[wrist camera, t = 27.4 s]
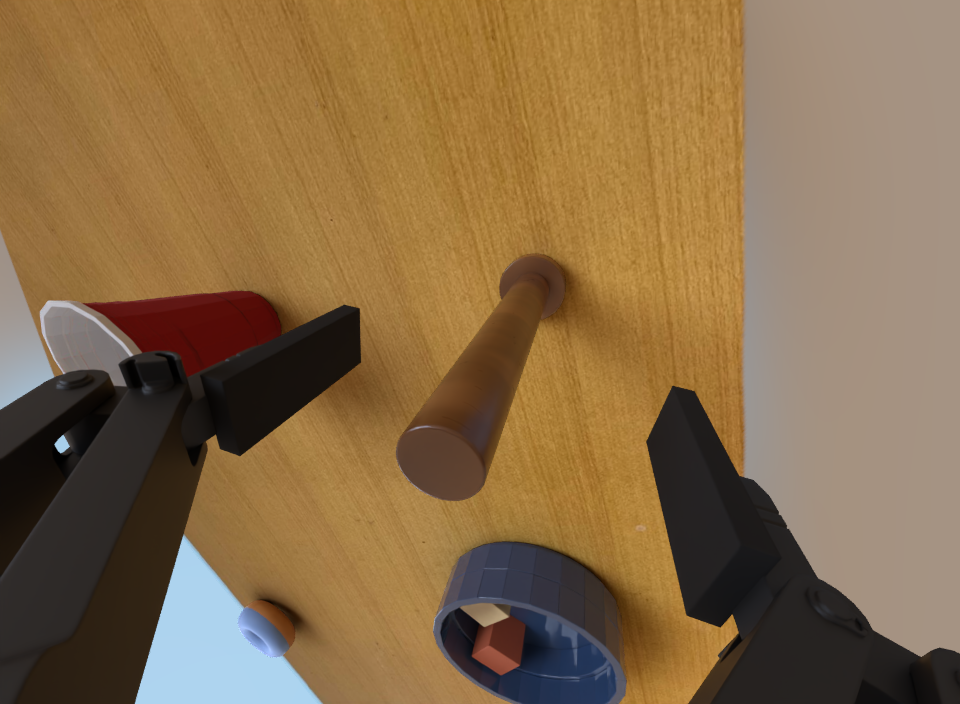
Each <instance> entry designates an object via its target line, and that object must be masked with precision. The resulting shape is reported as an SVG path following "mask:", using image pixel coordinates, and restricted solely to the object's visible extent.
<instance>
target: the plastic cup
mask: <svg viewBox="0 0 960 704" xmlns="http://www.w3.org/2000/svg"><path fill="white" fill-rule="evenodd" d="M40 318H41V327H42V334H43V336H44V338H45V340H46V343H47V345H48V347H49V349H50V352H51V354H52V356H53V358H54V360H55V361H56V363H57V364H58V366H59V367H60V369H61V370H62V372H63V373H64V374H66V373H67V372H71V371H76V370H91V369H96V370H103V371H105V372H107V373H109V376H110V378H111V380H112V383H113V385H114V386H126V383H125V380H124V378H123V375H122V373H121V370H120V368H119V365H118V364H119V363H120V362H121V361H123V360H124V359H126V358H129V357H131V356H133V355H137V354H140V353H144V352H151V351H172V352H176V353H178V354H179V355H180V356H181V359H182V362H183V366H184V369H185V373H186V376H187V377H189V376H191V375H193V374H195V373H197V372H200V371H202V370H204V369H206V368H208V367H210V366H212V365H214V364H216V363H218V362H221V361H225V360H226V359H227V358H229V357H231V356H233V355H235V356H236V354H237V353H239V352H242V351H244V350H246V349H248V348H250V347H254V346H258V345H262V344H264V343H266V342H268V341H271V340H273V339H275V338H277V337H279V336H281V325H280V322H279V319H278V316H277V314H276V313H275V311H274V310H273V308H272V307H271V305H270V304H269V303H268V302H267V301H266V300H264V299H263V298H262V297H261V296H260V295H257V294H255V293H253V292H250V291H228V292H220V293H211V294H192V295H183V296H174V297H165V298H155V299H146V300H137V301H128V302H122V301H116V302H107V303H97V302H95V303H80V302H78V301H60V300H58V301H48V302H47V303H46V304H45V306H44V307H43V309H42V310H41V311H40Z"/></svg>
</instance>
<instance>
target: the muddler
mask: <svg viewBox="0 0 960 704" xmlns="http://www.w3.org/2000/svg"><path fill="white" fill-rule="evenodd" d="M499 290H500V296H501V302H500V303H499V304H498V306H497V307H496V308H495V310H494V311H493V312H492V314H491V315H490V316H489V318H488V319H487V320H486V322H485V323H484V325H483V326H482V327H481V329H480V330H479V331H478V333H477V334H476V335H475V337H474V338H473V339H472V341H471V342H470V343H469V345H468V346H467V347H466V349H465V350H464V352H463V353H462V354H461V356H460V357H459V358H458V360H457V361H456V362H455V364H454V365H453V366H452V368H451V369H450V370H449V372H448V373H447V374H446V376H445V377H444V378H443V380H442V381H441V383H440V384H439V385H438V387H437V388H436V389H435V391H434V392H433V393H432V395H431V396H430V397H429V399H428V400H427V401H426V403H425V404H424V405H423V407H422V408H421V410H420V411H419V412H418V414H417V415H416V416H415V418H414V419H413V420H412V422H411V423H410V424H409V426H408V427H407V428H406V430H405V431H404V432H403V434H402V435H401V436H400V438H399V440H398V443H397V447H396V458H397V462H398V465H399V467H400V469H401V471H402V473H403V474H404V476H405V477H406V478H407V479H408V480H409V481H410V483H411V484H413V485H414V486H415V487H416V488H418V489H419V490H420V491H422V492H424V493H425V494H428V495H430V496H432V497H435V498H438V499H441V500H447V501H460V500H465V499H468V498H470V497H472V496H474V495H475V494H476V493H478V492H479V491H480V490H481V488H482V487H483V485H484V483H485V481H486V478H487V475H488V472H489V469H490V466H491V463H492V460H493V457H494V454H495V452H496V449H497V446H498V443H499V440H500V437H501V434H502V431H503V428H504V425H505V422H506V419H507V416H508V413H509V410H510V407H511V405H512V402H513V399H514V396H515V393H516V390H517V387H518V384H519V381H520V378H521V375H522V372H523V369H524V366H525V363H526V360H527V358H528V355H529V352H530V349H531V346H532V343H533V340H534V337H535V334H536V331H537V328H538V325H539V322H540V320H542V319H545V318H547V317H549V316H551V315H552V314H553V313H554V312H556V311H557V309H558V308H559V307H560V305H561V304H562V302H563V299H564V295H565V290H566V279H565V275H564V273H563V271H562V269H561V267H560V266H559V265H558V264H557V263H556V262H555V261H554V260H553V259H551V258H550V257H548V256H545V255H542V254H527V255H523V256H521V257H519V258H517V259H516V260H514V261H513V262H512V263H511V264H510V265H509V266H508V267H507V268H506V270H505V271H504V273H503V275H502V277H501V280H500V287H499Z"/></svg>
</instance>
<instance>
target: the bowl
mask: <svg viewBox="0 0 960 704" xmlns="http://www.w3.org/2000/svg"><path fill="white" fill-rule="evenodd" d="M478 603H492V604H506V605H510V606H511V610H510V615H512V616H513V617H515V618H516V619H518V620H519V621H521V622H522V623H524V624H525V633H524V640H523V647H522V655H521V662H520V666H518V667H516V668H514V669H513V670H511V671H509V672H507V673H505V674H503V675H499V674H498V673H496V672H495V671H493V670H492V669H490V668H489V667H487V666H485V665H484V664H482V663H481V662H479V661H478V660H476V659H475V658H473V657H472V652H473V648H474V644H475V639H476V635H477V631H478V627H479V623H478V622H477V621H476V620H475V619H473V618H472V617H471V616H470V615H468V614H467V613H466V612H465V611H463V610H462V609H461V608H460V607H462V606H466V605H472V604H478ZM433 633H434V636H435V640H436V643H437V645H438V647H439V648H440V650H441V652H442V653H443V655H444V656H445V658H446V659H447V660H448V661H449V662H450V663H451V664H452V665H453V666H454V667H455V668H456V669H457V670H458V671H459V672H460V673H461V674H462V675H464V676H465V677H466V678H468V679H469V680H470V681H472V682H473V683H474V684H476V685H477V686H479V687H480V688H482V689H484V690H486V691H487V692H489V693H491V694H493V695H494V696H496V697H499V698H501V699H503V700H506V701H508V702H510V703H512V704H619V703H620V701H621V700H622V699H623V697H624V696H625V693H626V683H627V678H626V666H625V654H624V642H623V630H622V618H621V614H620V611H619V608H618V605H617V603H616V600H615V599H614V597H613V596H612V595H611V593H610V592H609V591H608V590H607V588H606V587H605V586H604V584H602V582H601V581H600V580H599V579H598V578H597V577H596V576H595V575H594V574H592V573H591V572H590V571H589V570H588V569H586V568H585V567H583V566H582V565H581V564H579V563H577V562H576V561H574V560H572V559H570V558H568V557H566V556H564V555H562V554H560V553H558V552H555V551H553V550H550V549H547V548H544V547H540V546H536V545H532V544H527V543H519V542H495V543H490V544H485V545H482V546H479V547H477V548H474V549H472V550H471V551H469V552H467V553H466V554H464V555H463V556H461V557H460V558H459V559H458V561H457V562H456V563H455V565H454V566H453V568H452V571H451V573H450V576H449V579H448V582H447V585H446V588H445V591H444V594H443V596H442V599H441V602H440V605H439V608H438V611H437V614H436V616H435V620H434V627H433Z"/></svg>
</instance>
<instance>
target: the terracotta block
mask: <svg viewBox="0 0 960 704" xmlns="http://www.w3.org/2000/svg"><path fill="white" fill-rule="evenodd" d="M524 633H525V624H524V623H522V622H521V621H519V620H518V619H516V618H515V617H513V616H512V615H510V616H509V617H508V618H506V619H503V620H501V621H498V622H496V623H493V624H491V625H488V626H486V627H483V626H482V625H481V624H480V623H479V627H478V631H477V635H476V639H475V644H474V648H473V652H472V657H473V658H475V659H476V660H478V661H479V662H481V663H482V664H484V665H485V666H487V667H489V668H490V669H492V670H493V671H495V672H496V673H498V674H499V675H503V674H505V673H507V672H509V671H511V670H513V669H514V668H516V667H518V666H520V662H521V655H522V647H523V640H524Z"/></svg>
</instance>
